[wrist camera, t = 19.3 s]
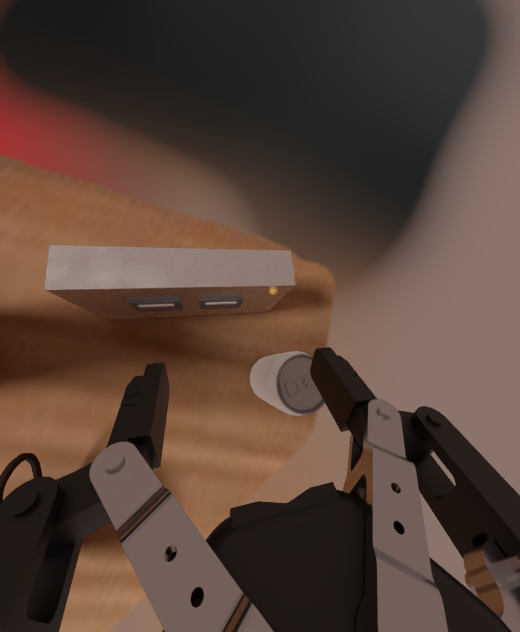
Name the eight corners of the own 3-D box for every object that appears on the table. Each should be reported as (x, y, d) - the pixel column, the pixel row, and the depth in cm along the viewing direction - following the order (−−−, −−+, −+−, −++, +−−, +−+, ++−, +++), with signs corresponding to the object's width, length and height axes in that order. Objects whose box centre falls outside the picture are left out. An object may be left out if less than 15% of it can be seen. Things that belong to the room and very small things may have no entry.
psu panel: (107, 323, 29) (44, 295, 18) (108, 291, 30) (49, 245, 19) (267, 315, 35) (296, 289, 23) (264, 288, 36) (290, 250, 24)
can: (297, 390, 33) (344, 401, 22) (258, 408, 31) (287, 432, 20) (281, 349, 34) (318, 340, 23) (242, 365, 32) (261, 364, 21)
